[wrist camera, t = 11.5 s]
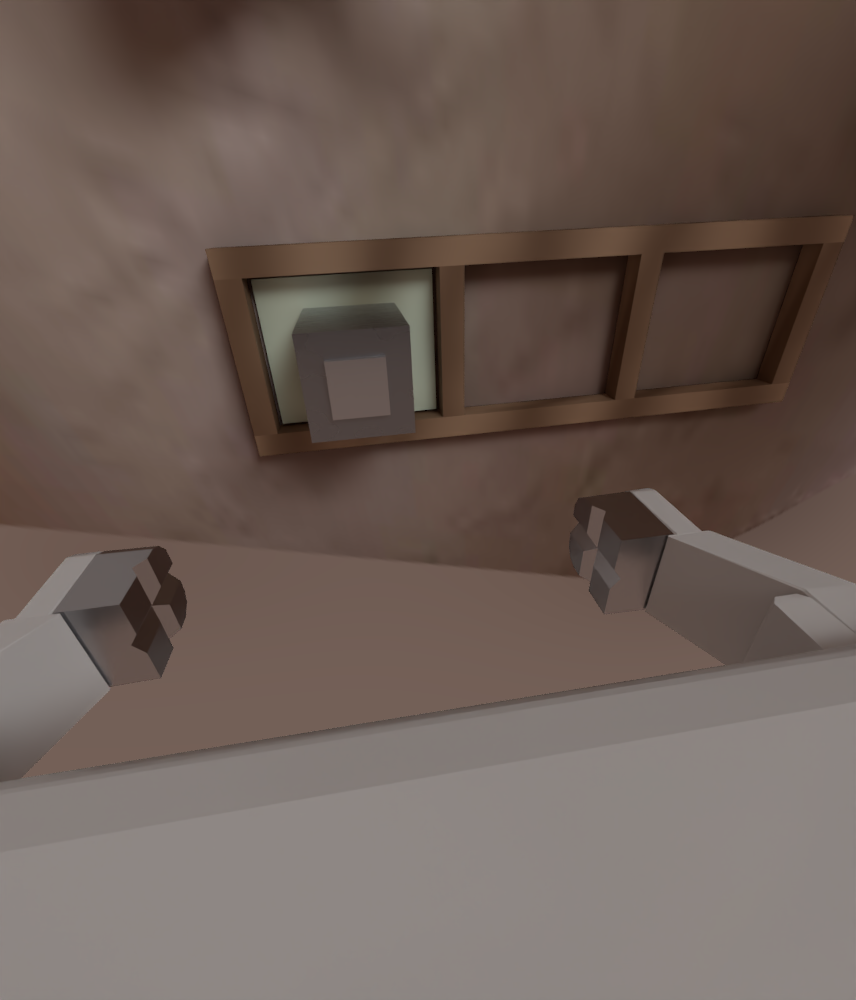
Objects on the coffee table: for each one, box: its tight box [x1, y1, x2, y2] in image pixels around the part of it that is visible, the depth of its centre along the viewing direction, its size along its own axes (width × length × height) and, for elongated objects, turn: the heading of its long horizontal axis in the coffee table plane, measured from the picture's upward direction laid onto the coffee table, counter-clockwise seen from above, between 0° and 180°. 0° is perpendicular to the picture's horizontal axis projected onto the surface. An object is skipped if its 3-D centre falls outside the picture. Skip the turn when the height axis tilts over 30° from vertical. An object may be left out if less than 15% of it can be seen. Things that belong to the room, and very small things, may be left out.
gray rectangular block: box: [292, 303, 416, 443], centre depth 21 cm, size 4×4×6 cm
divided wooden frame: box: [205, 215, 854, 456], centre depth 24 cm, size 32×10×1 cm, turn 92°
